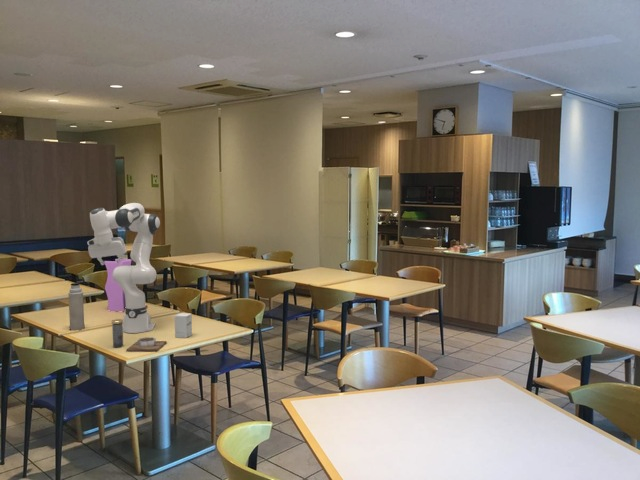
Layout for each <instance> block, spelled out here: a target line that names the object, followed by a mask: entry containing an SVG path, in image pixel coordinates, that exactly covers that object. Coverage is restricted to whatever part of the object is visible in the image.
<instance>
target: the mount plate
mask: <svg viewBox="0 0 640 480" xmlns="http://www.w3.org/2000/svg"><path fill="white" fill-rule="evenodd" d="M167 342H168V341H166V340H156V345H155V346H152V347H139V346H138V344H137V341H136V342H134V343H133V344H131V345H130V346H129V347H128V348H126V351H125V352H126V353H127V352H129V353H130V352H133V353H134V352H139V353H142V352H143V353H145V352H146V353H147V352H148V353H149V352H150V353H152V352H153V353H157V352H159V350H160V349H162V348H163V347H164V346H165V345H167V344H168V343H167Z"/></svg>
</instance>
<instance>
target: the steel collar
mask: <svg viewBox="0 0 640 480" xmlns="http://www.w3.org/2000/svg"><path fill="white" fill-rule="evenodd" d="M156 341H157V338H156V337H153V336H152V337H149V336H148V337H147V336H146V337H142V338H138V339H137V340H136V342H137V344H138V346H139V347H152V346H155V345H156Z"/></svg>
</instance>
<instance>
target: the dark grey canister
mask: <svg viewBox="0 0 640 480" xmlns="http://www.w3.org/2000/svg"><path fill="white" fill-rule="evenodd" d="M111 324H112V325H111V327H112V348H114V349H121V348H123V347H124V336H123V335H124V331H123V318H122V319H121V318H120V319H119V318H118V319H116V318H115V319H112V320H111Z"/></svg>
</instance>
